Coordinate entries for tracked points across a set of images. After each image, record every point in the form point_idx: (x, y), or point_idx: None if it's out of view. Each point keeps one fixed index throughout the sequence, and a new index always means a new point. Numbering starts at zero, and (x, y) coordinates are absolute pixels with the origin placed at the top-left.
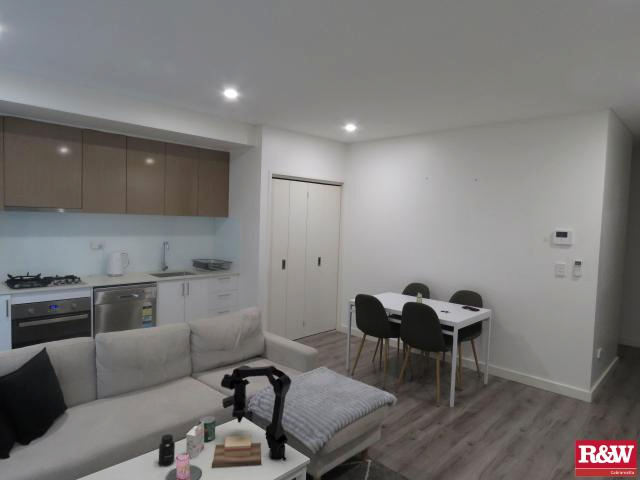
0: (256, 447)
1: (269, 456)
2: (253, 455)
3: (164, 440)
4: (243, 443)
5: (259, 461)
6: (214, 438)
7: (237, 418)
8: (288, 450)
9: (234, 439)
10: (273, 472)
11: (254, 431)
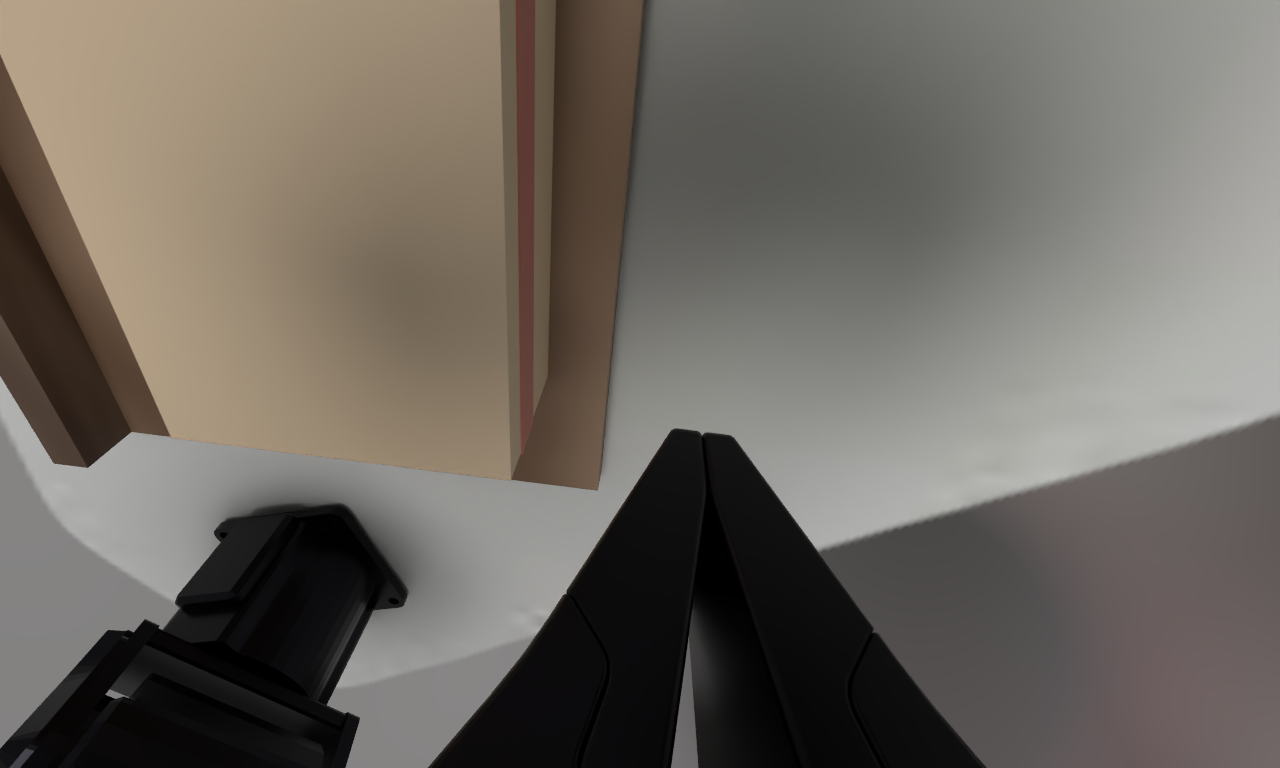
0: None
1: (274, 524)
2: None
3: None
4: (207, 335)
5: (50, 440)
6: None
7: (597, 546)
8: (459, 644)
9: (342, 161)
10: (71, 494)
11: (964, 452)
